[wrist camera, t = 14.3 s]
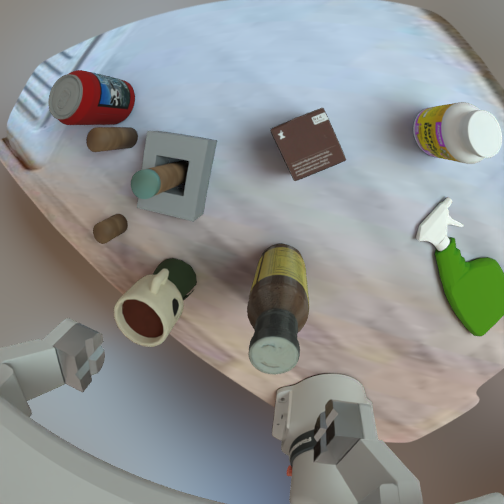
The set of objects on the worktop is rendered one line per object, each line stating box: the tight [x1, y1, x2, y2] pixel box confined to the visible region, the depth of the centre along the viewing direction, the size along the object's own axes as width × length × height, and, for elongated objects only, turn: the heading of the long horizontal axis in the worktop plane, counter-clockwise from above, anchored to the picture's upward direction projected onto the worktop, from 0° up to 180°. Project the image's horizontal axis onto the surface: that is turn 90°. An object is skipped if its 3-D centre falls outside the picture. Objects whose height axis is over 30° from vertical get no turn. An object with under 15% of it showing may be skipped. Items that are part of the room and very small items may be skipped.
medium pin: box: [87, 127, 138, 152], centre depth 34 cm, size 3×3×8 cm
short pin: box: [93, 214, 128, 244], centre depth 40 cm, size 3×3×5 cm
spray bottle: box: [416, 197, 504, 336], centre depth 36 cm, size 3×11×24 cm
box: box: [270, 108, 346, 181], centre depth 32 cm, size 6×6×7 cm
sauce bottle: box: [247, 244, 309, 374], centre depth 32 cm, size 6×6×20 cm
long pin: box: [131, 161, 189, 199], centre depth 33 cm, size 3×3×11 cm
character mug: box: [114, 258, 197, 347], centre depth 38 cm, size 11×7×13 cm, turn 156°
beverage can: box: [49, 70, 135, 125], centre depth 30 cm, size 7×7×12 cm
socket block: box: [137, 131, 217, 222], centre depth 37 cm, size 10×8×4 cm
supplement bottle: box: [413, 102, 502, 164], centre depth 26 cm, size 7×7×13 cm
